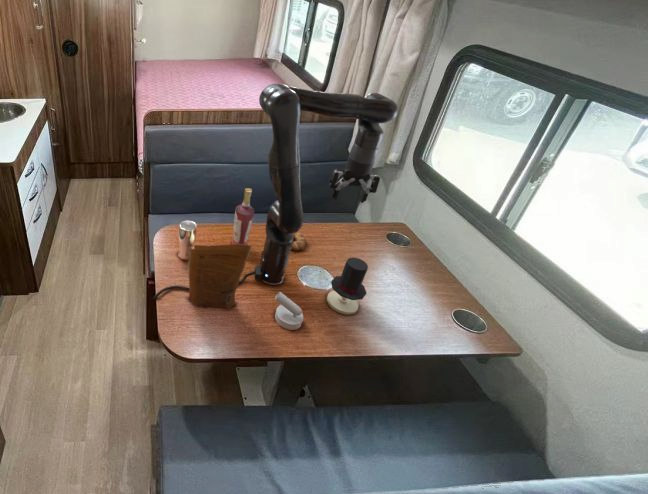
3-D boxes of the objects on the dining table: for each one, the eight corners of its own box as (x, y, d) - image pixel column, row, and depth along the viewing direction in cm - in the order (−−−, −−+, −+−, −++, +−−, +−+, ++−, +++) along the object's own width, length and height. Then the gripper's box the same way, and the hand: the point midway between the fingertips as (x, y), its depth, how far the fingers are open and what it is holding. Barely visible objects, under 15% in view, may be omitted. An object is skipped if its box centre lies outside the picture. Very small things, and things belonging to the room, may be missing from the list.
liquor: (249, 252, 160) (260, 195, 145) (231, 252, 160) (240, 195, 145) (245, 241, 166) (255, 185, 152) (228, 240, 166) (237, 184, 152)
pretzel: (291, 255, 159) (293, 248, 157) (271, 240, 167) (273, 233, 165) (311, 246, 164) (313, 239, 162) (291, 232, 172) (293, 225, 170)
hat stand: (329, 311, 134) (344, 273, 125) (324, 290, 143) (337, 252, 133) (360, 316, 133) (377, 278, 123) (353, 295, 141) (369, 257, 132)
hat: (335, 297, 130) (343, 272, 124) (328, 274, 139) (336, 250, 134) (369, 302, 128) (379, 278, 122) (360, 279, 137) (370, 255, 132)
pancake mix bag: (240, 314, 133) (252, 251, 118) (184, 308, 135) (189, 245, 120) (238, 298, 139) (250, 237, 124) (184, 293, 141) (190, 232, 126)
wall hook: (280, 283, 132) (310, 296, 128) (275, 303, 137) (304, 315, 133) (272, 300, 126) (304, 313, 121) (267, 320, 131) (298, 334, 126)
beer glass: (197, 253, 159) (200, 223, 151) (189, 263, 154) (192, 233, 146) (182, 247, 162) (184, 218, 154) (174, 256, 157) (175, 227, 149)
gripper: (340, 160, 122) (327, 203, 130) (390, 165, 120) (373, 208, 128) (336, 150, 128) (323, 191, 137) (382, 154, 126) (367, 196, 134)
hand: (347, 199), depth 132 cm, fingers open, 8 cm apart
